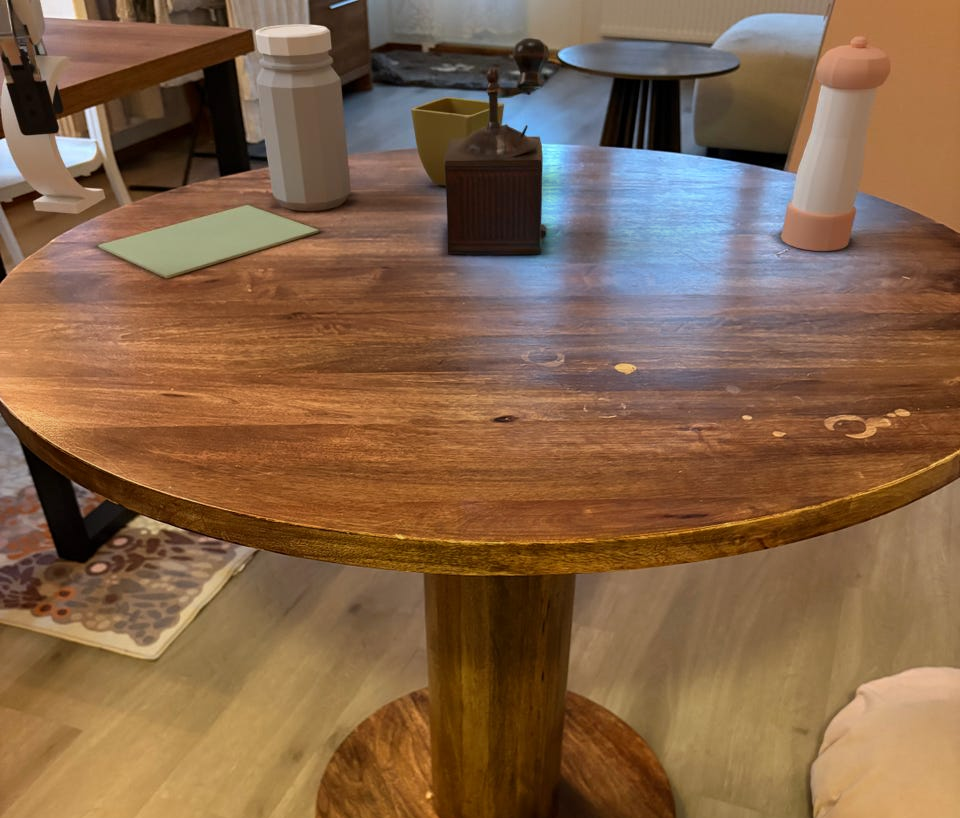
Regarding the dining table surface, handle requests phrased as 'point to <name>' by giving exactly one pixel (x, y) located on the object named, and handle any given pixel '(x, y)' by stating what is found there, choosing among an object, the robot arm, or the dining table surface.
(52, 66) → the headphone stand
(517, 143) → the brown manual coffee grinder
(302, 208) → the jar
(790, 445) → the dining table surface
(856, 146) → the salt shaker
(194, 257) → the placemat
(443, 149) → the flower pot
